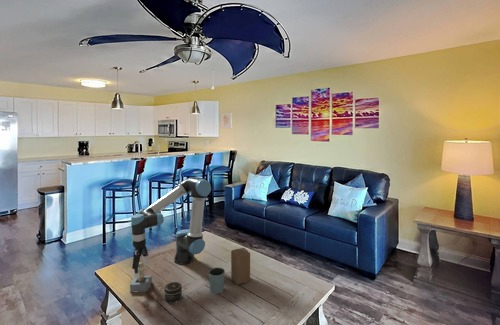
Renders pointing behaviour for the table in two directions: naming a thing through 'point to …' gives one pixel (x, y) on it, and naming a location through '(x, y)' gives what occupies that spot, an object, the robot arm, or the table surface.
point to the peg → (141, 272)
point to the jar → (173, 291)
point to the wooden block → (240, 266)
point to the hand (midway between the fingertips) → (141, 271)
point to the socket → (141, 284)
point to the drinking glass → (216, 280)
